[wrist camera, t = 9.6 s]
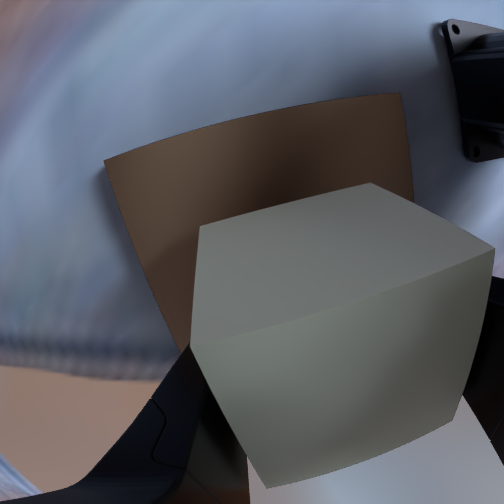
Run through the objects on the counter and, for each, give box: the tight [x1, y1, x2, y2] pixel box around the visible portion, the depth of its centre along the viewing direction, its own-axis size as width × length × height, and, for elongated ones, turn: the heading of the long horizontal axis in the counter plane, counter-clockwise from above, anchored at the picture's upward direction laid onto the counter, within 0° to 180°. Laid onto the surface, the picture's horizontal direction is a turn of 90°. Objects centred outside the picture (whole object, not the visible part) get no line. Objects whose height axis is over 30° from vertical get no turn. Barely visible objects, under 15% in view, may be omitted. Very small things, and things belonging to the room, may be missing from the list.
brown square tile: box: [104, 92, 414, 353], centre depth 12 cm, size 10×10×1 cm
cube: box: [190, 183, 495, 488], centre depth 7 cm, size 5×5×5 cm
